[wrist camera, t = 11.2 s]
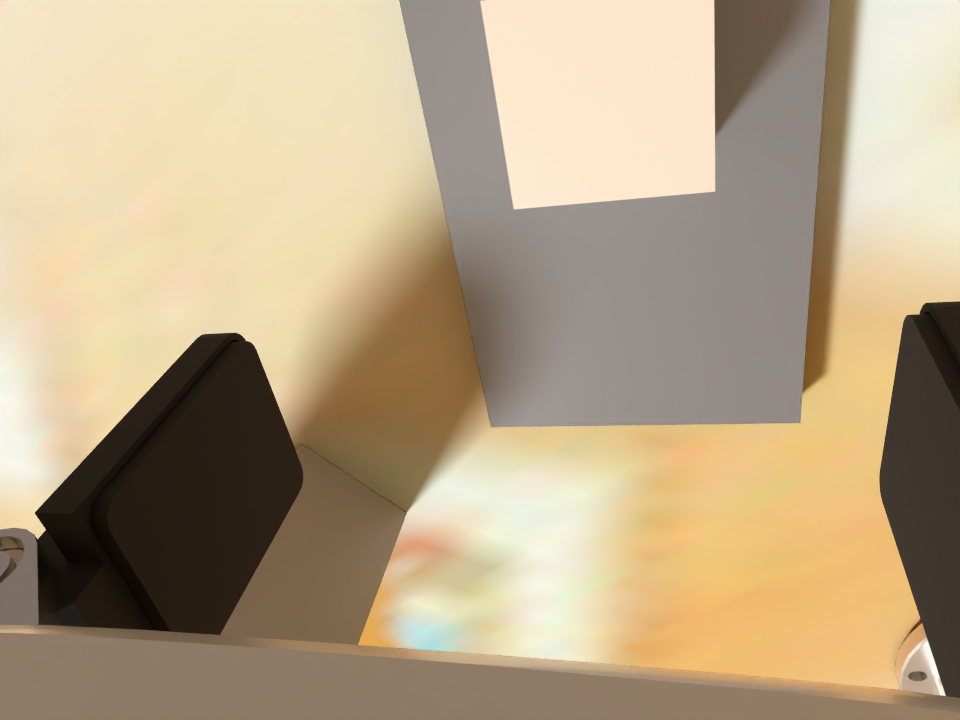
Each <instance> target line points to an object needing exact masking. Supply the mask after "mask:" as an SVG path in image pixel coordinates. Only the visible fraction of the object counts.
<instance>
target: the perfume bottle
mask: <svg viewBox="0 0 960 720" xmlns="http://www.w3.org/2000/svg"><path fill="white" fill-rule="evenodd" d="M296 453H297V455H298V458H299V460H300V463H301V465H302V469H303V484H302V488H301V490H300V492H299V494H298V496H297V498H296V499H295V501H294V503H293V505H292V507H291V508H290V510H289V512H288V514H287V516H286V517H285V519H284V521H283V523H282V525H281V526H280V528H279V530H278V532H277V534H276V535H275V537H274V539H273V541H272V543H271V544H270V546H269V548H268V550H267V552H266V553H265V555H264V557H263V559H262V561H261V562H260V564H259V566H258V568H257V569H256V571H255V573H254V575H253V577H252V578H251V580H250V582H249V584H248V586H247V587H246V589H245V591H244V593H243V595H242V596H241V598H240V600H239V602H238V604H237V605H236V607H235V609H234V611H233V613H232V614H231V616H230V618H229V620H228V622H227V623H226V625H225V627H224V629H223V631H222V632H221V634H220V635H225V636H240V637H254V638H269V639H283V640H298V641H312V642H325V643H339V644H353V645H358V643H359V640H360V637H361V635H362V632H363V629H364V627H365V624H366V621H367V619H368V616H369V613H370V610H371V608H372V605H373V602H374V600H375V597H376V594H377V592H378V589H379V586H380V584H381V581H382V578H383V575H384V573H385V570H386V567H387V565H388V562H389V559H390V557H391V554H392V551H393V548H394V546H395V543H396V540H397V538H398V535H399V532H400V530H401V527H402V524H403V521H404V519H405V516H406V512H404V511H403V510H401V509H400V508H398V507H397V506H395V505H394V504H392V503H391V502H389V501H388V500H386V499H385V498H383V497H382V496H380V495H379V494H377V493H376V492H374V491H373V490H371V489H369V488H368V487H366V486H365V485H363V484H362V483H360V482H359V481H357V480H356V479H354V478H353V477H351V476H350V475H348V474H347V473H345V472H344V471H342V470H341V469H339V468H338V467H336V466H335V465H333V464H332V463H330V462H328V461H327V460H325V459H324V458H322V457H321V456H319V455H318V454H316V453H315V452H313V451H312V450H310V449H309V448H307V447H306V446H304V445H303V444H302V445H301V446H300V447H299V448H298V449H297V450H296Z"/></svg>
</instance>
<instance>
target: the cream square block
mask: <svg viewBox="0 0 960 720" xmlns="http://www.w3.org/2000/svg"><path fill="white" fill-rule="evenodd" d="M480 3H481V9H482V16H483V22H484V28H485V34H486V41H487V47H488V53H489V59H490V65H491V72H492V78H493V84H494V90H495V96H496V103H497V109H498V115H499V121H500V128H501V134H502V140H503V146H504V152H505V159H506V165H507V171H508V177H509V183H510V190H511V196H512V202H513V208H514V209H525V208H536V207H547V206H559V205H570V204H581V203H593V202H604V201H615V200H626V199H638V198H649V197H660V196H671V195H683V194H694V193H705V192H715V47H714V0H481V1H480Z"/></svg>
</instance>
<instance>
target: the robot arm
mask: <svg viewBox="0 0 960 720" xmlns="http://www.w3.org/2000/svg"><path fill="white" fill-rule="evenodd" d="M302 484H303V469H302V465H301V463H300V460H299V458H298V455H297V453H296V450H295V448H294V445H293V442H292V440H291V437H290V435H289V432H288V430H287V427H286V425H285V422H284V420H283V417H282V414H281V412H280V409H279V407H278V404H277V402H276V399H275V397H274V394H273V391H272V389H271V386H270V384H269V381H268V379H267V376H266V374H265V371H264V369H263V366H262V363H261V361H260V358H259V356H258V353H257V351H256V349H255V347H254V345H253V344H252V343H251V342H248V341H245V339H244V338H243V337H242V336H241V335H240V334H237V333H221V334H204V335H201V336H200V337H198V338H197V339H196V340H195V341H194V342H193V343H192V344H191V345H190V347H189V348H188V349H187V350H186V351H185V352H184V353H183V354H182V355H181V356H180V357H179V358H178V359H177V361H176V362H175V363H174V364H173V365H172V366H171V367H170V368H169V369H168V370H167V371H166V372H165V373H164V374H163V376H162V377H161V378H160V379H159V380H158V381H157V382H156V383H155V384H154V385H153V386H152V387H151V388H150V390H149V391H148V392H147V393H146V394H145V395H144V396H143V397H142V398H141V399H140V400H139V401H138V402H137V403H136V405H135V406H134V407H133V408H132V409H131V410H130V411H129V412H128V413H127V414H126V415H125V416H124V417H123V419H122V420H121V421H120V422H119V423H118V424H117V425H116V426H115V427H114V428H113V429H112V430H111V431H110V433H109V434H108V435H107V436H106V437H105V438H104V439H103V440H102V441H101V442H100V443H99V444H98V445H97V446H96V448H95V449H94V450H93V451H92V452H91V453H90V454H89V455H88V456H87V457H86V458H85V459H84V460H83V462H82V463H81V464H80V465H79V466H78V467H77V468H76V469H75V470H74V471H73V472H72V473H71V474H70V475H69V477H68V478H67V479H66V480H65V481H64V482H63V483H62V484H61V485H60V486H59V487H58V488H57V489H56V491H55V492H54V493H53V494H52V495H51V496H50V497H49V498H48V499H47V500H46V501H45V502H44V503H43V505H42V506H41V507H40V508H39V509H38V510H37V511H36V512H35V514H36V515H37V517H38V518H39V520H40V521H41V523H42V524H43V526H44V527H45V529H46V531H45V532H44V533H43V534H42V535H41V536H40V537H39V539H38V540H37V538H36V537H35V535H34V534H32V533H31V532H29V531H28V530H26V529H20V528H9V529H2V530H0V720H960V302H937V303H925V304H924V305H923V307H922V309H921V311H920V315H907V316H906V317H905V320H904V323H903V328H902V334H901V340H900V347H899V353H898V360H897V366H896V372H895V379H894V385H893V392H892V398H891V404H890V411H889V417H888V424H887V430H886V436H885V443H884V449H883V456H882V462H881V468H880V492H881V498H882V501H883V505H884V508H885V511H886V514H887V517H888V520H889V523H890V526H891V529H892V532H893V535H894V538H895V541H896V545H897V548H898V551H899V554H900V557H901V560H902V563H903V566H904V569H905V572H906V575H907V578H908V581H909V584H910V588H911V591H912V594H913V597H914V600H915V603H916V606H917V609H918V612H919V615H920V618H921V621H922V623H921V624H920V625H919V626H918V627H917V628H916V629H915V630H914V631H913V632H912V633H911V634H909V635H908V637H907V638H906V640H905V642H904V643H903V645H902V646H901V648H900V649H899V652H898V656H897V659H896V663H895V665H896V678H897V681H898V684H899V688H900V690H896V689H885V688H875V687H864V686H854V685H843V684H833V683H822V682H812V681H801V680H791V679H780V678H770V677H759V676H749V675H738V674H726V673H713V672H701V671H688V670H676V669H663V668H651V667H638V666H626V665H613V664H601V663H588V662H576V661H563V660H551V659H538V658H526V657H513V656H500V655H486V654H473V653H460V652H447V651H433V650H420V649H407V648H393V647H378V646H366V645H353V644H339V643H325V642H312V641H298V640H283V639H269V638H254V637H240V636H225V635H220V634H221V632H222V631H223V629H224V627H225V625H226V623H227V622H228V620H229V618H230V616H231V614H232V613H233V611H234V609H235V607H236V605H237V604H238V602H239V600H240V598H241V596H242V595H243V593H244V591H245V589H246V587H247V586H248V584H249V582H250V580H251V578H252V577H253V575H254V573H255V571H256V569H257V568H258V566H259V564H260V562H261V561H262V559H263V557H264V555H265V553H266V552H267V550H268V548H269V546H270V544H271V543H272V541H273V539H274V537H275V535H276V534H277V532H278V530H279V528H280V526H281V525H282V523H283V521H284V519H285V517H286V516H287V514H288V512H289V510H290V508H291V507H292V505H293V503H294V501H295V499H296V498H297V496H298V494H299V492H300V490H301V488H302Z"/></svg>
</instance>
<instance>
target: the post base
mask: <svg viewBox="0 0 960 720" xmlns="http://www.w3.org/2000/svg"><path fill="white" fill-rule="evenodd" d="M399 1H400V6H401V10H402V15H403V20H404V24H405V29H406V34H407V38H408V43H409V48H410V52H411V57H412V62H413V66H414V71H415V75H416V80H417V85H418V89H419V94H420V99H421V103H422V108H423V113H424V117H425V122H426V127H427V131H428V136H429V141H430V145H431V150H432V155H433V159H434V164H435V169H436V173H437V178H438V182H439V187H440V192H441V196H442V201H443V206H444V210H445V215H446V220H447V224H448V229H449V234H450V238H451V243H452V248H453V252H454V257H455V262H456V266H457V271H458V275H459V280H460V285H461V289H462V294H463V299H464V303H465V308H466V313H467V317H468V322H469V327H470V331H471V336H472V341H473V345H474V350H475V355H476V359H477V364H478V369H479V373H480V378H481V382H482V387H483V392H484V396H485V401H486V406H487V410H488V415H489V420H490V424H491V427H530V426H606V425H682V424H757V423H800V419H801V405H802V391H803V377H804V363H805V349H806V335H807V321H808V307H809V293H810V279H811V265H812V251H813V237H814V223H815V209H816V195H817V181H818V167H819V153H820V139H821V125H822V111H823V97H824V83H825V69H826V55H827V41H828V27H829V13H830V0H714V47H715V192H705V193H694V194H683V195H671V196H660V197H649V198H638V199H626V200H615V201H604V202H593V203H581V204H570V205H559V206H547V207H536V208H525V209H514V208H513V202H512V196H511V190H510V183H509V177H508V171H507V165H506V159H505V152H504V146H503V140H502V134H501V128H500V121H499V115H498V109H497V103H496V96H495V90H494V84H493V78H492V72H491V65H490V59H489V53H488V47H487V41H486V34H485V28H484V22H483V16H482V9H481V3H480V1H481V0H399Z"/></svg>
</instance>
